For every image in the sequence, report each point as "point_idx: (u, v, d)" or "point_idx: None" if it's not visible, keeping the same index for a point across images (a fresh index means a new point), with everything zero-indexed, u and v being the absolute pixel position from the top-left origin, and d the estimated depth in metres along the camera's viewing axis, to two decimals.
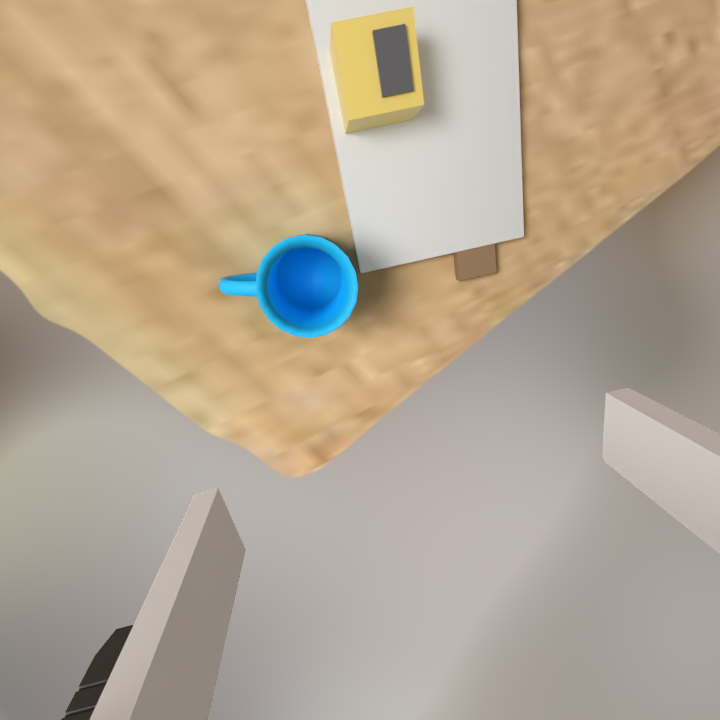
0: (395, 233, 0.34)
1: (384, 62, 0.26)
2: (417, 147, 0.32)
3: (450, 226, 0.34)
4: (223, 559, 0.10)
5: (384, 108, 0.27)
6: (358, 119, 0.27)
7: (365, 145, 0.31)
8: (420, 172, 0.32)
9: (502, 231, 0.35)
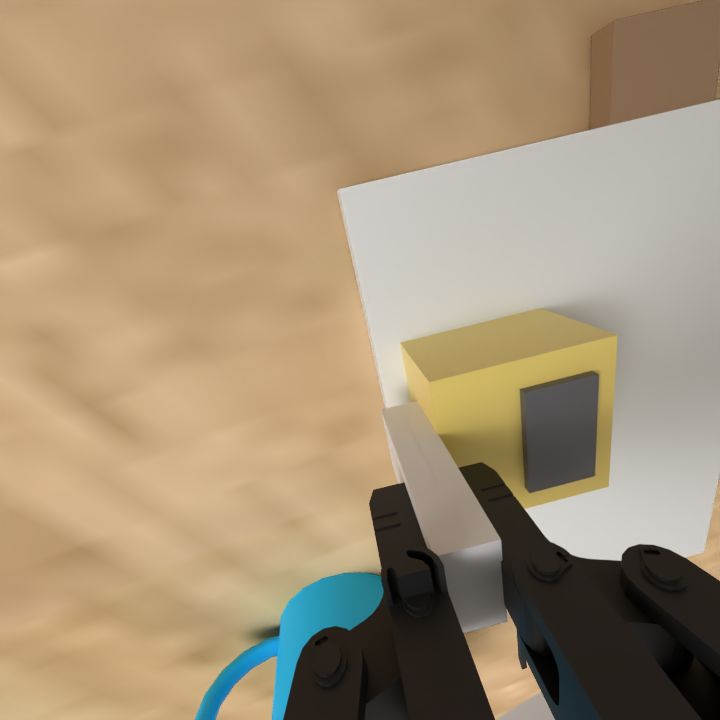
0: None
1: (541, 442, 0.11)
2: None
3: (588, 554, 0.20)
4: None
5: (527, 502, 0.13)
6: None
7: None
8: None
9: None
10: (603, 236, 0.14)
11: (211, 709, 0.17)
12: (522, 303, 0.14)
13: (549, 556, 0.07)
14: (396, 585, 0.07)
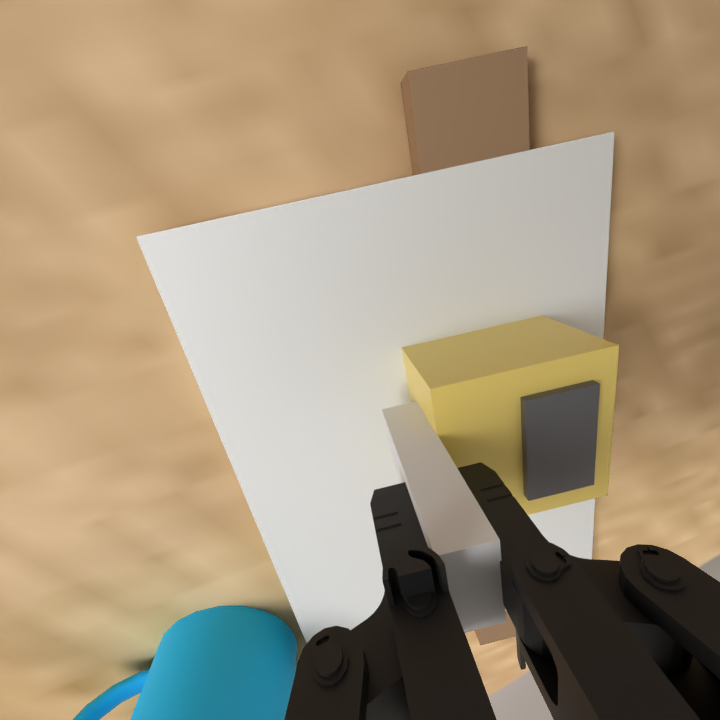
0: (371, 610, 0.20)
1: (541, 450, 0.12)
2: None
3: None
4: None
5: (526, 509, 0.13)
6: None
7: (310, 511, 0.17)
8: None
9: None
10: (429, 282, 0.14)
11: None
12: (353, 348, 0.14)
13: (548, 556, 0.07)
14: (397, 585, 0.07)
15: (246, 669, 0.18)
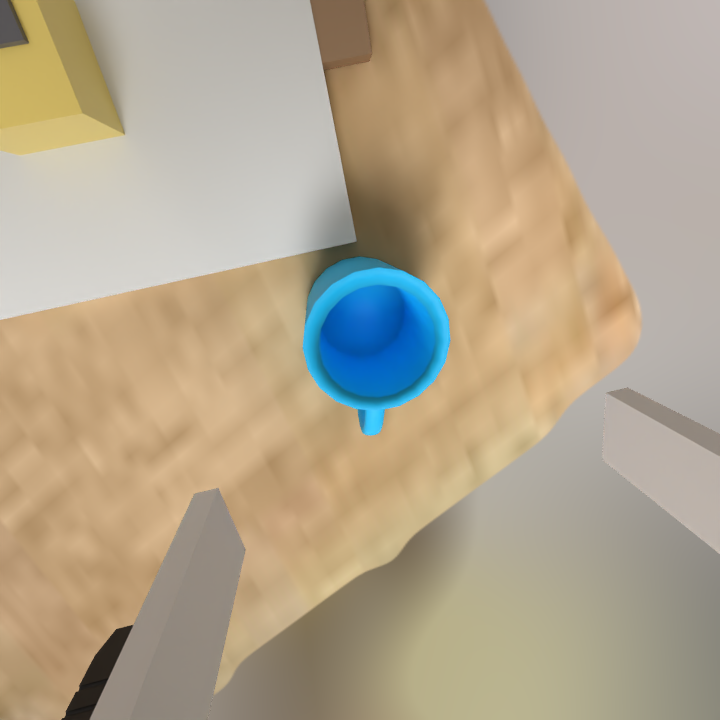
0: (298, 185, 0.22)
1: None
2: (170, 150, 0.21)
3: (280, 79, 0.20)
4: (223, 559, 0.10)
5: (44, 38, 0.15)
6: (78, 96, 0.17)
7: (183, 235, 0.22)
8: (204, 143, 0.21)
9: None
10: None
11: (361, 417, 0.26)
12: (32, 197, 0.21)
13: None
14: None
15: (312, 293, 0.23)
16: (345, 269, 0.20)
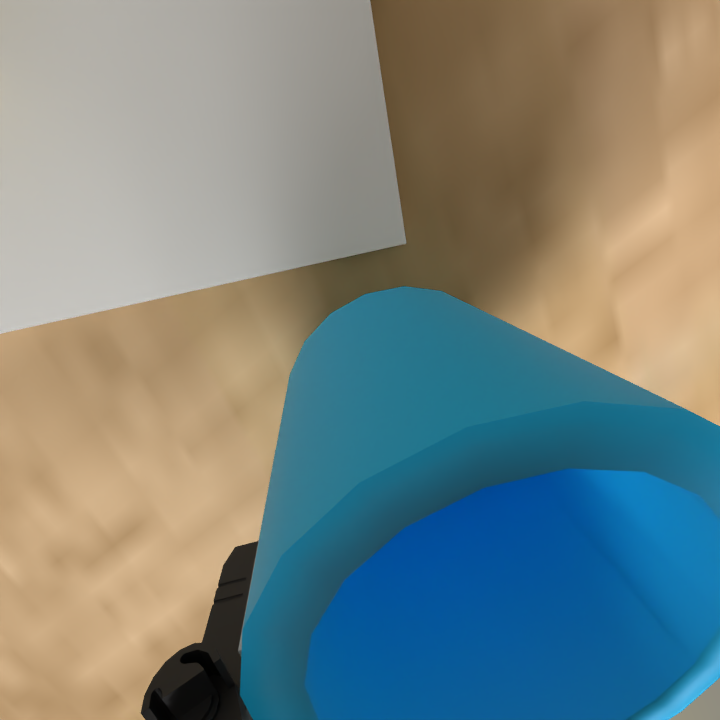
0: (306, 143, 0.12)
1: None
2: (72, 76, 0.11)
3: None
4: None
5: None
6: None
7: (107, 234, 0.13)
8: (135, 63, 0.11)
9: None
10: None
11: None
12: None
13: None
14: None
15: (294, 392, 0.09)
16: (395, 357, 0.06)
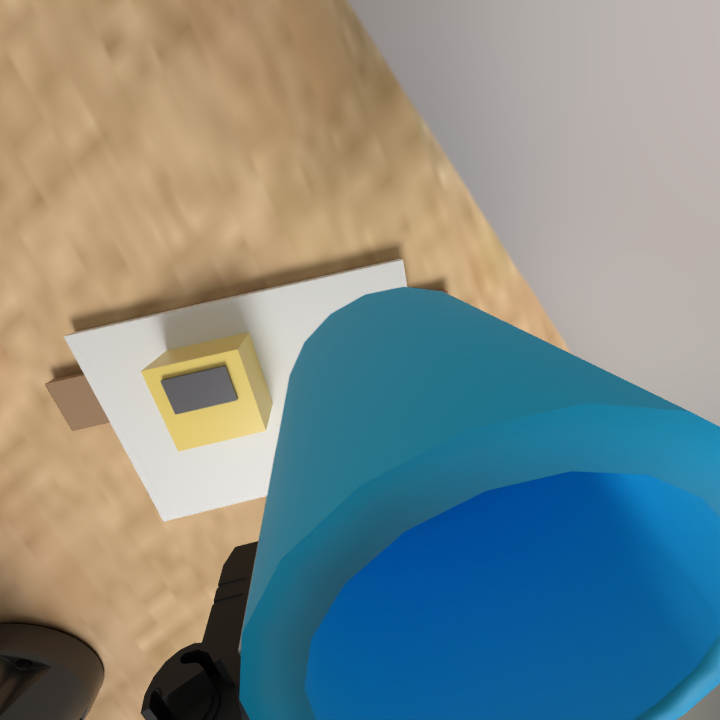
0: None
1: (203, 400, 0.22)
2: None
3: None
4: None
5: (248, 394, 0.23)
6: (263, 418, 0.24)
7: None
8: None
9: None
10: None
11: None
12: None
13: None
14: None
15: (294, 393, 0.09)
16: (396, 358, 0.06)
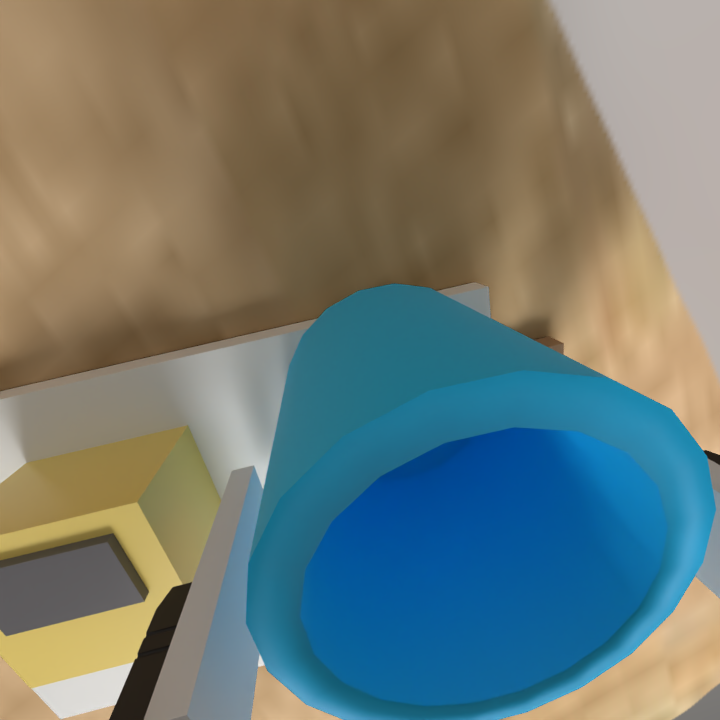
0: None
1: (67, 607, 0.10)
2: None
3: None
4: None
5: (171, 584, 0.11)
6: None
7: None
8: None
9: None
10: None
11: None
12: None
13: None
14: None
15: (292, 378, 0.10)
16: (379, 343, 0.07)
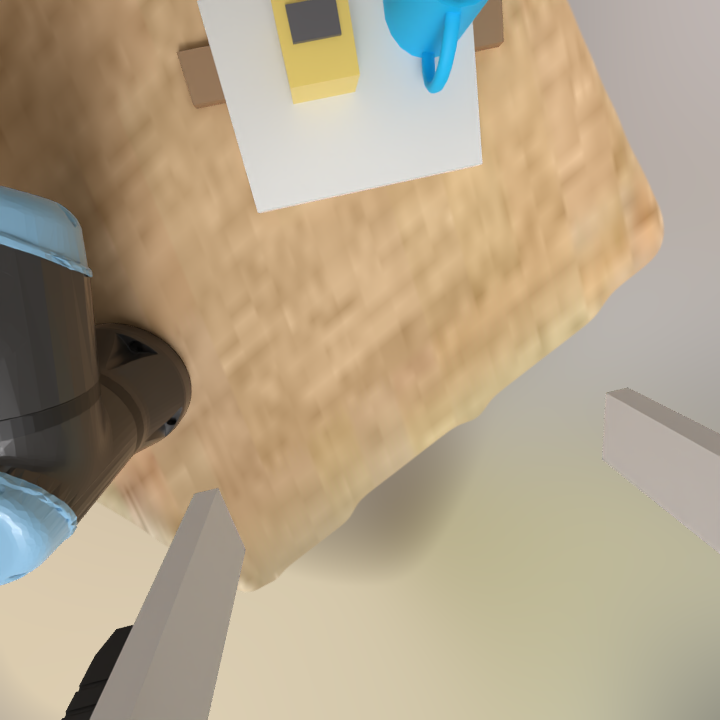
0: (450, 125, 0.35)
1: (315, 30, 0.28)
2: (379, 101, 0.34)
3: None
4: (223, 559, 0.10)
5: (349, 32, 0.29)
6: None
7: (377, 157, 0.36)
8: (399, 97, 0.34)
9: None
10: (265, 92, 0.33)
11: (431, 82, 0.31)
12: (295, 130, 0.34)
13: None
14: None
15: None
16: None
